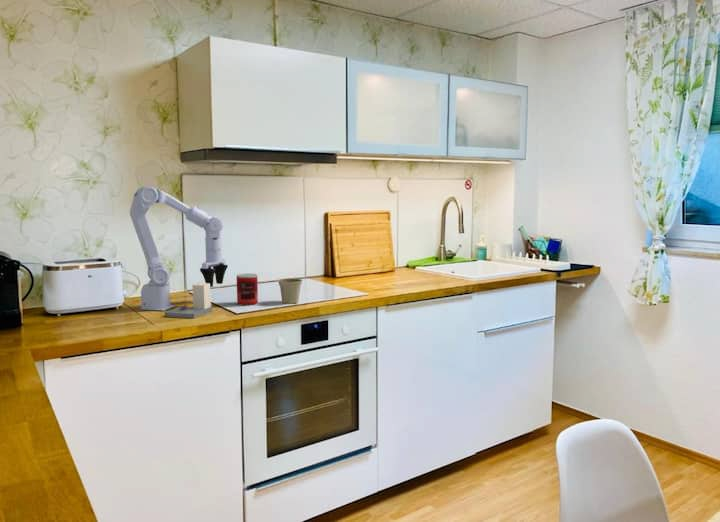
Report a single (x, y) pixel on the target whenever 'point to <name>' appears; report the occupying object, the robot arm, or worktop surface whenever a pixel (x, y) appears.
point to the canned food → (247, 289)
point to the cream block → (201, 296)
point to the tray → (186, 312)
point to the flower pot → (290, 290)
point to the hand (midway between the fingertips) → (214, 285)
